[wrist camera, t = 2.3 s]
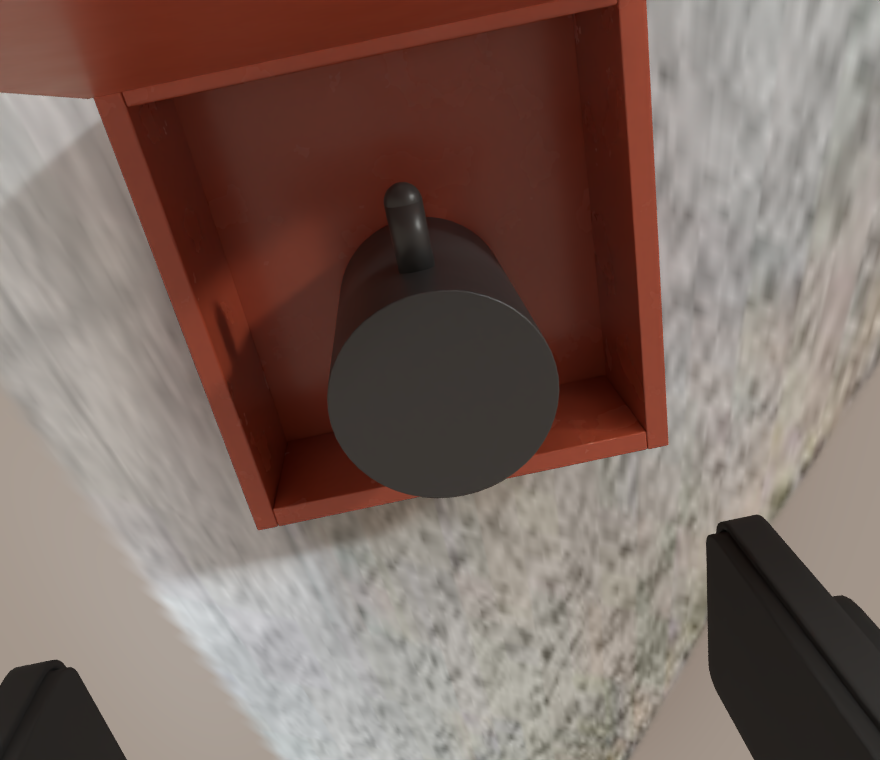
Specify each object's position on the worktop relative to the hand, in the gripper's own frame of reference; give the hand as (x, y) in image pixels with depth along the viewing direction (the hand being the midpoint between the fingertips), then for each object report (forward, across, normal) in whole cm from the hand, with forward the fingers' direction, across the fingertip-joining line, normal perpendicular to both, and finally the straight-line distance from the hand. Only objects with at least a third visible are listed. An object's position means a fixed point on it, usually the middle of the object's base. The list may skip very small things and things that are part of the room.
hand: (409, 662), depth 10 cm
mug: (+19, -1, 0) cm, 19 cm away
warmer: (+20, -1, -1) cm, 20 cm away
